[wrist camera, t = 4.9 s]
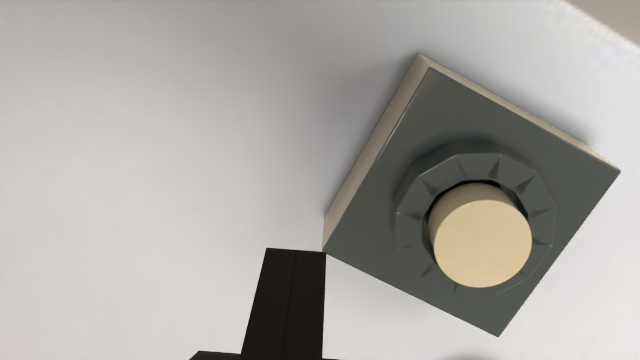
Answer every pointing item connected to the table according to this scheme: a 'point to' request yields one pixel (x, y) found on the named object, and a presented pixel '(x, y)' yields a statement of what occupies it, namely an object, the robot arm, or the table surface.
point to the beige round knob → (478, 235)
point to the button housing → (452, 171)
